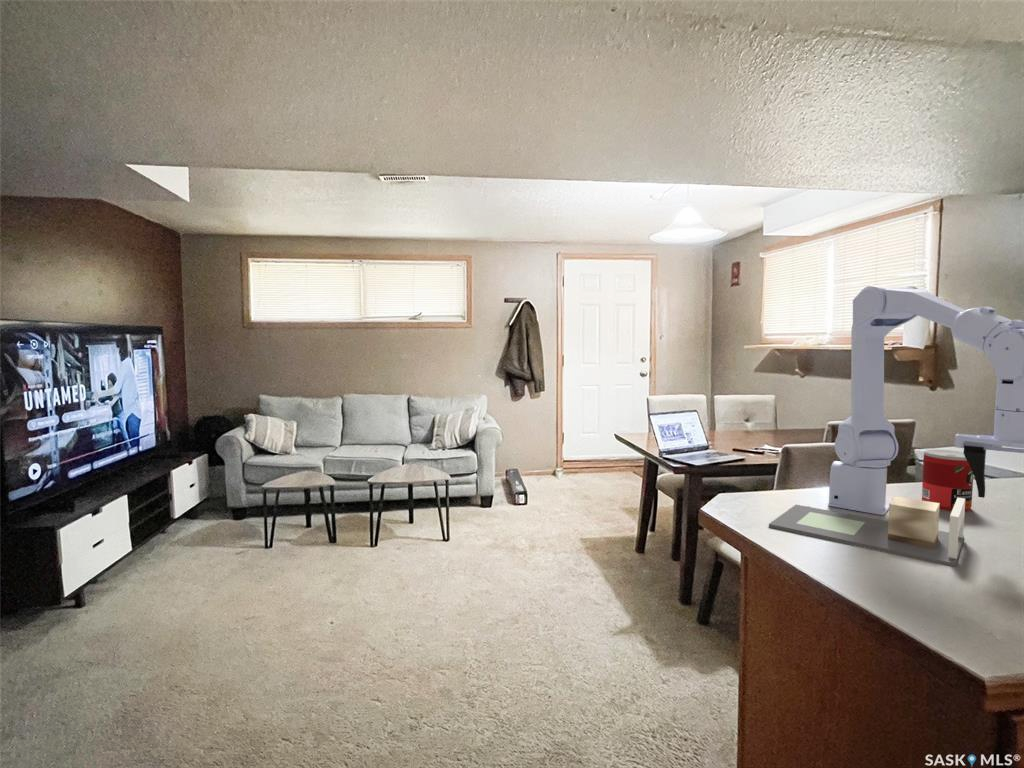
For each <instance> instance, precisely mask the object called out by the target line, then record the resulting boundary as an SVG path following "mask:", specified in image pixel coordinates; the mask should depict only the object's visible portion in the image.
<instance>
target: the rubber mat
mask: <svg viewBox="0 0 1024 768" xmlns="http://www.w3.org/2000/svg"><path fill="white" fill-rule="evenodd" d="M768 528H771V529H776V530H781V531H786V532H790V533H795V534H798V535H799V534H800V535H805V536H809V537H814V538H818V539H822V540H825V541H832V542H835V543H840V542H841V544H845V545H849V544H850V546H854V545H856V546H855V547H859V546H861V547H860V548H864V547H865V548H864V549H868V548H870V549H869V550H873V549H875V550H874V551H878V550H880V551H879V552H883V551H884V552H883V553H888V554H893V555H898V556H903V557H907V558H912V559H917V560H921V561H922V560H923V561H925V562H926V561H927V562H930V563H935V564H940V565H945V566H949V567H950V566H951V567H955V568H956V567H957V566H956V565H957V563H958V559H959V556H960V552H961V550H962V549H961V548H962V546H963V542H964V539H965V535H964V534H963V537H960V536H958V550H957V558H953V557H948V545H949V531H942V530H938V540H937V542H936V544H935V547H934V549H932V548H927V547H922V546H917V545H912V544H908V543H903V542H898V541H893V540H888V520H882V519H878V518H871V517H866V516H860V515H855V514H850V513H846V512H845V513H844V512H839V511H834V510H833V511H832V510H829V509H828V510H827V509H822V508H817V507H812V506H805V505H800V504H795V505H793V506H791V508H788V510H786V511H785V512H784V513H782V514H780V515H779V516H778V517H776V518H775V519H773V521H771V522H769V523H768Z"/></svg>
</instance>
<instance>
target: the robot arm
mask: <svg viewBox="0 0 1024 768" xmlns="http://www.w3.org/2000/svg"><path fill="white" fill-rule="evenodd" d="M996 311H997V310H996V308H993V307H991V306H981V307H972V308H969V309H966V310H965V309H964V308H961V307H959V306H957V305H956V304H953V303H951V302H949V301H947V300H946V299H943V298H940V297H939V296H936V295H935V294H933V293H930V292H929V291H928V289H923V288H919V287H917V286H913V285H911V286H909V285H908V286H907V285H906V286H877V285H869V286H865V287H864V288H862V289H861V290H860V292H859V293H858V294H857V295H856V296H855V297H854V298H853V299H852V326H851V332H850V333H851V336H850V337H851V342H850V343H851V346H850V347H851V348H850V349H851V353H850V355H851V356H850V357H851V359H850V360H851V362H850V364H851V365H850V366H851V367H850V369H851V370H850V371H851V372H850V373H851V376H850V378H851V379H850V380H851V382H850V383H851V385H850V387H851V388H850V416H849V417H847V418H846V419H845V420H843V421H842V422H841V423H839V425H838V427H837V431H838V432H837V435H836V437H835V440H834V451H835V453H836V455H837V457H838V459H839V461H838V460H833V462H832V463H831V466H830V471H829V487H828V488H829V489H828V490H829V492H828V503H827V506H829V507H833V508H839V509H845V510H851V511H856V512H862V513H867V514H873V515H878V516H885V514H886V513H887V512H889V504H890V503H886V502H887V499H886V497H887V476H888V466H891V461H893V460H895V458H896V457H897V456H898V454H899V442H898V440H897V437H896V434H895V426H894V424H893V423H892V422H891V421H889V420H888V419H887V418H886V417H885V416H884V415H885V412H884V411H885V337H886V336H887V335H888V334H890V332H892V331H893V330H895V329H897V328H899V327H901V326H902V325H904V324H906V323H908V322H910V321H912V320H914V319H915V318H917V317H918V316H919V317H921V318H923V319H926V320H929V321H931V322H933V323H936V324H939V325H942V326H944V327H946V328H949V329H950V332H951V336H952V337H953V338H954V339H955V340H957V341H959V342H960V343H963V344H965V345H967V346H969V347H971V348H974V349H976V350H978V351H980V352H982V353H984V354H987V357H988V359H989V361H990V362H991V363H992V365H993V366H994V367H993V368H994V372H993V375H995V377H996V391H995V406H994V407H995V408H994V425H993V426H994V427H993V435H982V434H963V433H956V434H955V435H954V448H957V449H958V448H959V449H963V451H962V452H963V453H964V456H965V458H966V460H967V461H968V463H969V465H970V467H971V470H972V472H973V478H974V480H975V484H976V487H977V497H978V498H983V499H984V498H985V496H986V481H985V480H986V477H985V469H986V458H987V456H986V455H987V454H986V453H987V451H996V452H1005V453H1006V452H1008V453H1019V454H1024V321H1023V320H1021V319H1010V318H1007V317H1005V316H1003V315H999V314H997V313H996Z"/></svg>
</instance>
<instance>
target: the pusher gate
mask: <svg viewBox="0 0 1024 768" xmlns="http://www.w3.org/2000/svg"><path fill="white" fill-rule="evenodd" d="M965 513H966V511H965V499H964V498H957V500H956V502H955V505H954V507H953V510H952V511H950V515H949V527H948V528H949V529H948V530H949V531H948V532H949V545H948V557H953V558H957V550H958V536H960V537H963V535H964V529H965Z"/></svg>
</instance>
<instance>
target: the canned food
mask: <svg viewBox="0 0 1024 768" xmlns="http://www.w3.org/2000/svg"><path fill="white" fill-rule="evenodd" d="M963 452H964V451H959V450H958V451H957V450H951V449H949V450H948V449H925V450H924V452H923V461H922V465H923V466H922V485H921V488H922V489H921V500H922V501H928V502H935V503H940V508H939V510H941V511H947V510H948V511H949V512H952V510H953V507H954V505H955V502H956V500H957V498H964V499H965V512H969V511H971V508H972V505H973V504H972V503H973V488H974V487H973V486H974V475H973V472H972V470H971V467H970V465H969V463H968V461H967V460H966V458H965V456H964V453H963ZM968 510H969V511H968Z"/></svg>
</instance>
